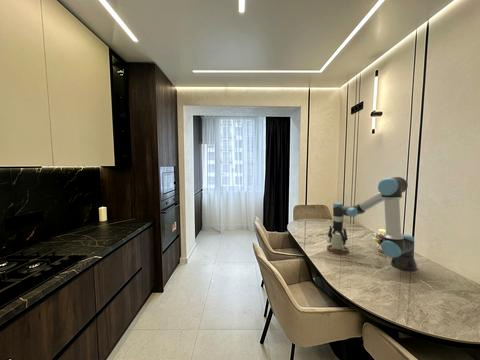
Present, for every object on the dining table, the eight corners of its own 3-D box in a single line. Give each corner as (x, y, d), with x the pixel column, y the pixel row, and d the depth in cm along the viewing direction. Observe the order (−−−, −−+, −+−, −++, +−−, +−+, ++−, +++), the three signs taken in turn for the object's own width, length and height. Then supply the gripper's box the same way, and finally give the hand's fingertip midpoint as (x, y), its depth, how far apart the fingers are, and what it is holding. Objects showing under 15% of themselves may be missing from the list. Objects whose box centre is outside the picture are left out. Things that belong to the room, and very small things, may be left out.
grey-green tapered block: (333, 244, 199) (333, 231, 199) (344, 247, 194) (344, 233, 193) (330, 248, 192) (330, 234, 192) (341, 250, 186) (341, 236, 186)
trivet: (352, 250, 192) (352, 247, 192) (342, 256, 181) (342, 253, 181) (333, 245, 205) (333, 242, 205) (323, 250, 194) (323, 247, 194)
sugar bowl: (348, 244, 209) (348, 228, 208) (332, 244, 208) (332, 228, 208) (338, 237, 228) (338, 222, 227) (324, 237, 228) (324, 223, 227)
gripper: (352, 222, 185) (352, 248, 187) (328, 217, 202) (328, 242, 204) (348, 223, 181) (348, 251, 182) (323, 219, 198) (323, 244, 199)
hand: (337, 246), depth 193 cm, fingers closed on grey-green tapered block, 9 cm apart
